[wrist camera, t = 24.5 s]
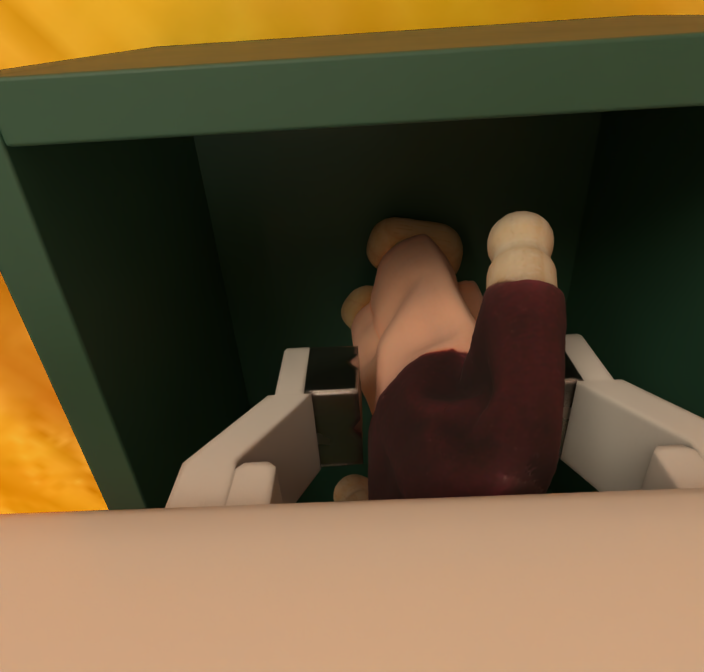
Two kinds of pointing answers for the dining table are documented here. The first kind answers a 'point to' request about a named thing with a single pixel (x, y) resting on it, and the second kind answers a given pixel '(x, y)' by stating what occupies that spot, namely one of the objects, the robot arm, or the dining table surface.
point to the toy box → (337, 211)
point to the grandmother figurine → (459, 363)
